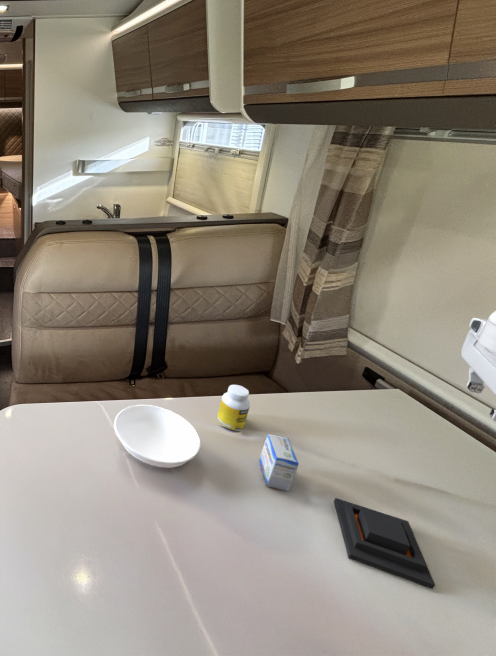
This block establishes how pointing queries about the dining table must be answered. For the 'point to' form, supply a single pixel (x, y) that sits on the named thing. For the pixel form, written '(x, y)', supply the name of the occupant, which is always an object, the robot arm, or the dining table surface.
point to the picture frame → (381, 548)
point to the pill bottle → (234, 408)
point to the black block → (383, 531)
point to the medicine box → (278, 462)
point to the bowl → (157, 435)
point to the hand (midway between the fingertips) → (484, 404)
